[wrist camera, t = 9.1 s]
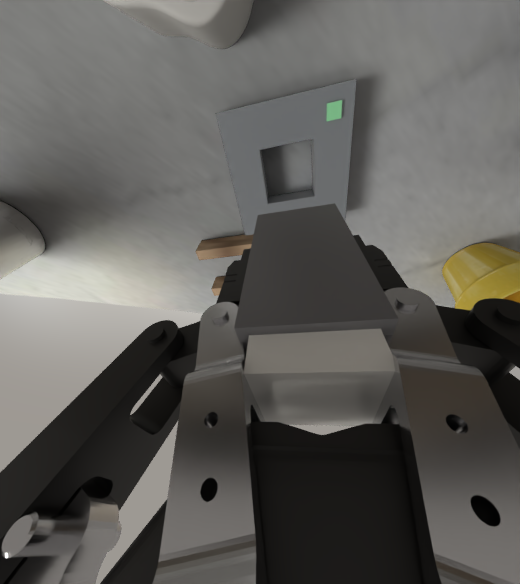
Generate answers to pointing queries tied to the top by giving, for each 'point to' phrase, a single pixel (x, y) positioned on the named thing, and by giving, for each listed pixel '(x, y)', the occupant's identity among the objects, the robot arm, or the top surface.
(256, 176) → the port
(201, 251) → the pair of wooden planks
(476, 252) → the plant pot
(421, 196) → the top surface
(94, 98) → the top surface
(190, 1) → the white lumpy box
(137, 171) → the top surface
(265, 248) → the plug
